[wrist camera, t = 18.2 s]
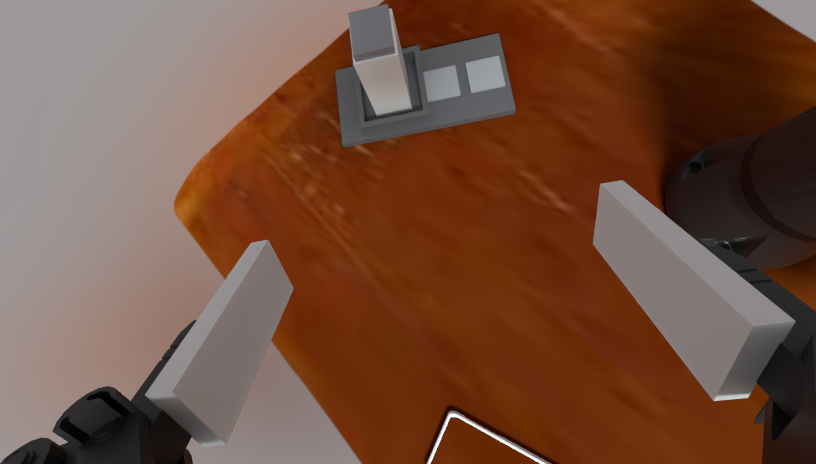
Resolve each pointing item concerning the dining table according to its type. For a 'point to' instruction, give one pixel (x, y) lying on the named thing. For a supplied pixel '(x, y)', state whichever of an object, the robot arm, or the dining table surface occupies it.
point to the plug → (380, 60)
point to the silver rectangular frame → (456, 414)
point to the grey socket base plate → (431, 92)
